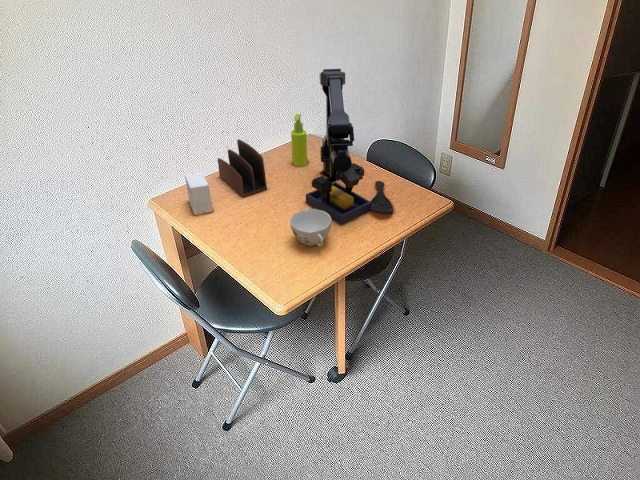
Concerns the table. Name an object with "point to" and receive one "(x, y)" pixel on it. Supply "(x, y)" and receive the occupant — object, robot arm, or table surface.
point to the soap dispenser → (299, 143)
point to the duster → (340, 200)
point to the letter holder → (244, 170)
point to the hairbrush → (381, 201)
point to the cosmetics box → (198, 193)
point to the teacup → (311, 226)
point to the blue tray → (316, 202)
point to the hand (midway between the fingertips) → (338, 199)
